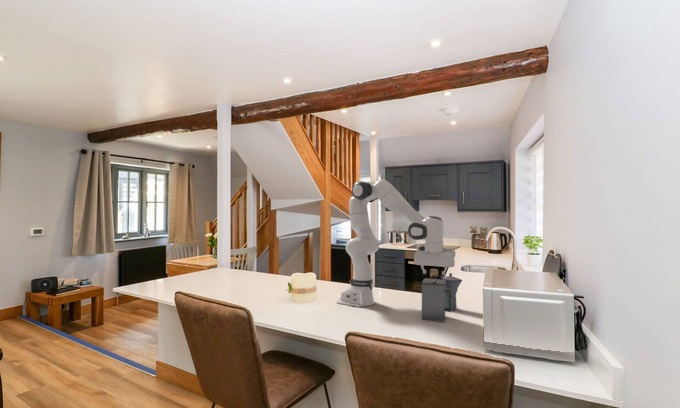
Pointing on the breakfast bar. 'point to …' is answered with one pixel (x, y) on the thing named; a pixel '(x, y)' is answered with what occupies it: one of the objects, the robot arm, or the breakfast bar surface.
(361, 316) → the breakfast bar surface
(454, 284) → the moka pot
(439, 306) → the tall grey box
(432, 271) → the plunger
